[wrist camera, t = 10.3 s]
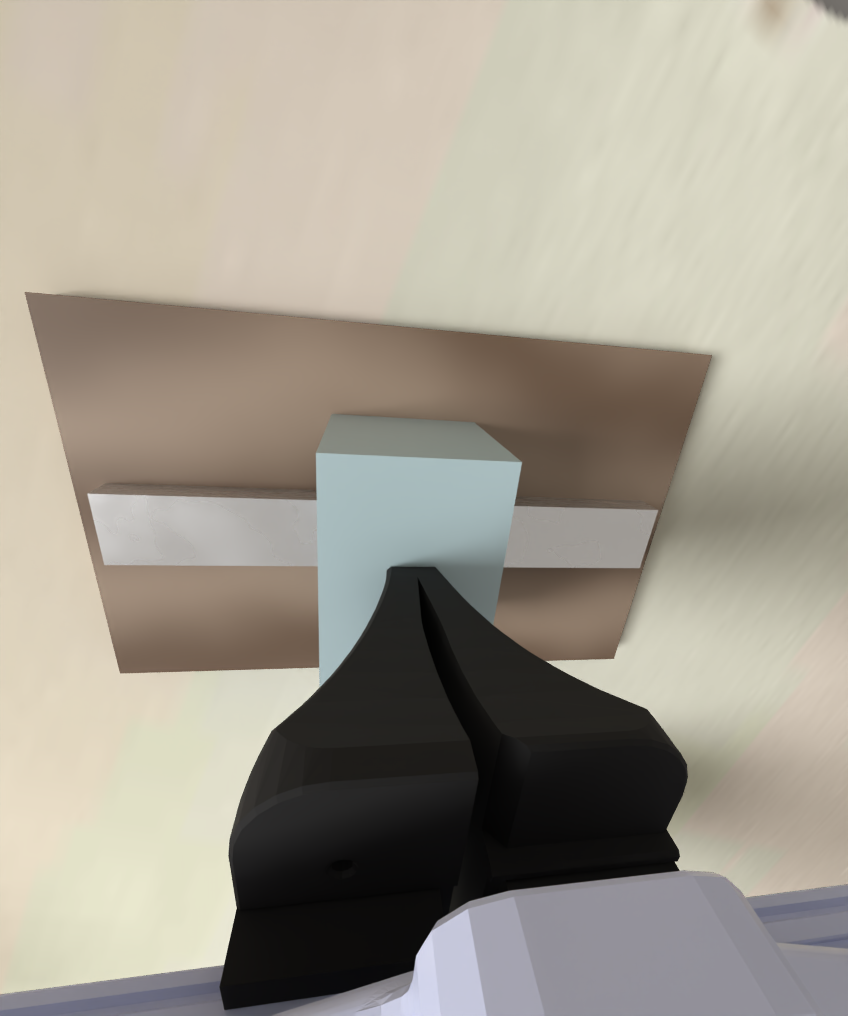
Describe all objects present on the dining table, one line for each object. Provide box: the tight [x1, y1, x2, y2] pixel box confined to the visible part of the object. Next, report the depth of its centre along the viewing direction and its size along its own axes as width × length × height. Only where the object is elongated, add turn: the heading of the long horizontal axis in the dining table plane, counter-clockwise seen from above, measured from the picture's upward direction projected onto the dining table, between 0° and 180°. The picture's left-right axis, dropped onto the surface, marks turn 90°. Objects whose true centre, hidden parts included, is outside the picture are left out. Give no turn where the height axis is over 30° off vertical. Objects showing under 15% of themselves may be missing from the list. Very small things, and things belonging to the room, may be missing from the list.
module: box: [316, 414, 522, 687], centre depth 14 cm, size 8×5×6 cm, turn 175°
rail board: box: [25, 292, 712, 673], centre depth 16 cm, size 14×22×2 cm, turn 85°
